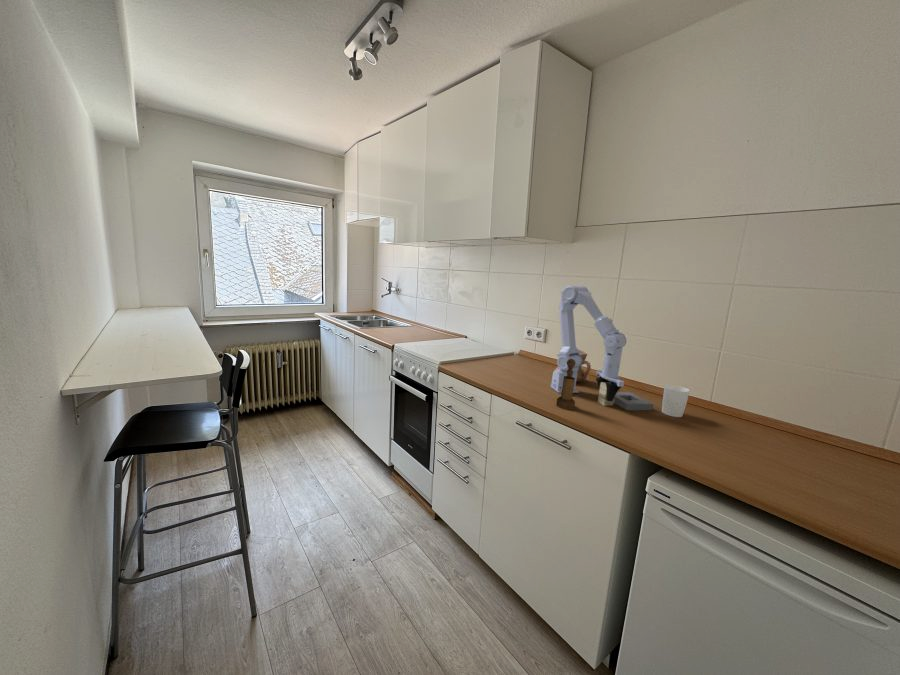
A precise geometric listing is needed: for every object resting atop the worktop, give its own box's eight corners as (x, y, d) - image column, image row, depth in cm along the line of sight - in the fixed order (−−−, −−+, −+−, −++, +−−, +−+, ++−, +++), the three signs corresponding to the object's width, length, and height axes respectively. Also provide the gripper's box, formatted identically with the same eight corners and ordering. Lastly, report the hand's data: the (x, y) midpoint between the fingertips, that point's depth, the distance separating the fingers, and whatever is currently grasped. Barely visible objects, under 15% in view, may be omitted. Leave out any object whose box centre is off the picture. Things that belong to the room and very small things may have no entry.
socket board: (626, 410, 134) (627, 404, 133) (605, 397, 146) (606, 392, 146) (652, 410, 136) (653, 403, 135) (629, 397, 148) (630, 392, 148)
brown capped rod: (575, 410, 130) (582, 362, 127) (557, 408, 131) (563, 360, 128) (573, 404, 136) (579, 358, 133) (555, 401, 137) (561, 356, 134)
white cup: (660, 414, 132) (665, 388, 130) (659, 408, 139) (663, 383, 137) (685, 419, 128) (690, 393, 126) (683, 413, 135) (688, 387, 133)
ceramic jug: (545, 376, 172) (548, 347, 169) (565, 373, 180) (568, 345, 177) (576, 388, 157) (581, 357, 154) (596, 384, 165) (601, 354, 162)
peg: (603, 405, 137) (606, 385, 135) (597, 401, 141) (600, 382, 139) (613, 405, 137) (616, 385, 136) (606, 401, 141) (609, 382, 140)
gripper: (633, 370, 130) (627, 405, 132) (609, 359, 144) (604, 392, 146) (616, 369, 129) (610, 405, 131) (593, 359, 143) (588, 392, 145)
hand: (606, 398), depth 139 cm, fingers closed on peg, 4 cm apart
